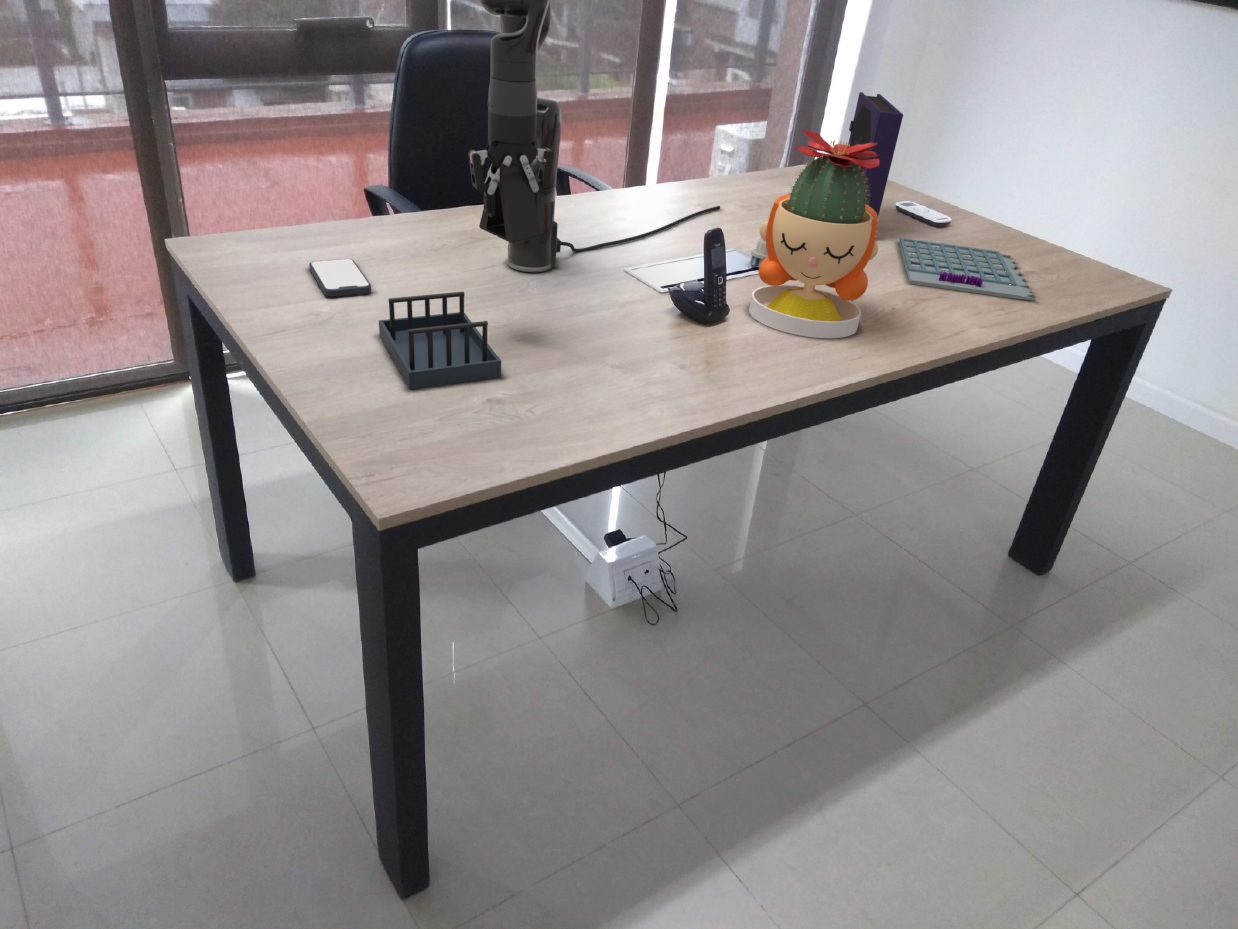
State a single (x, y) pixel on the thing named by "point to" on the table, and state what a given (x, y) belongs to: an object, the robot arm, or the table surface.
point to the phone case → (339, 277)
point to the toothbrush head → (759, 253)
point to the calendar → (963, 269)
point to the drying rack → (438, 345)
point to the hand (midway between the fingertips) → (510, 213)
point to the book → (876, 141)
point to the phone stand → (512, 207)
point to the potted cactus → (819, 244)
